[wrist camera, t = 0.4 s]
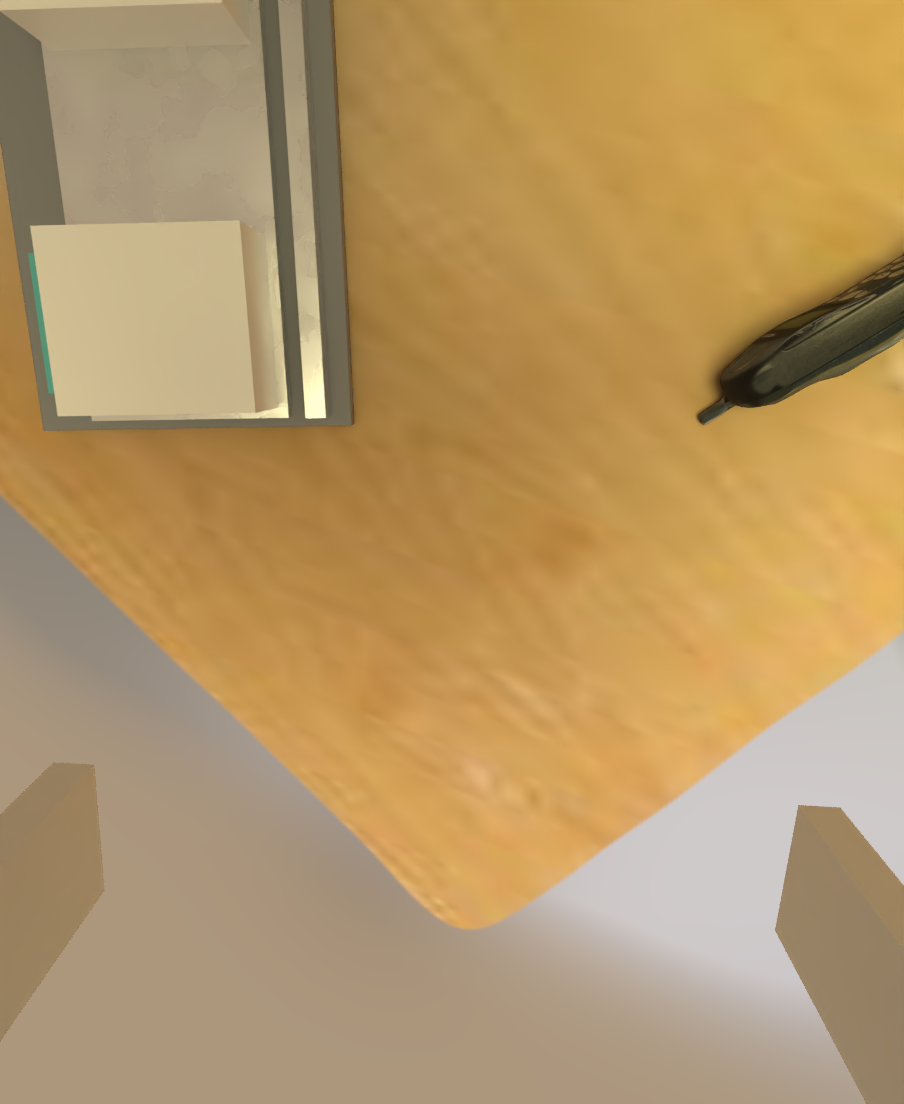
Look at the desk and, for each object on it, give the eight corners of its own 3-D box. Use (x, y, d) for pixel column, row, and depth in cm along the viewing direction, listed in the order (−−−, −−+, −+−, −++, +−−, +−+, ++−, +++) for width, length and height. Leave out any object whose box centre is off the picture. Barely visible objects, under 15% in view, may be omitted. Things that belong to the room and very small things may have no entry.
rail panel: (-32, -159, 34) (-134, -265, 28) (324, -174, 33) (293, -284, 27) (54, 429, 40) (-15, 439, 34) (354, 424, 39) (334, 434, 34)
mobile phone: (1023, 189, 32) (710, 388, 34) (1052, 252, 32) (742, 445, 34) (948, 214, 37) (678, 386, 38) (974, 268, 37) (706, 436, 39)
